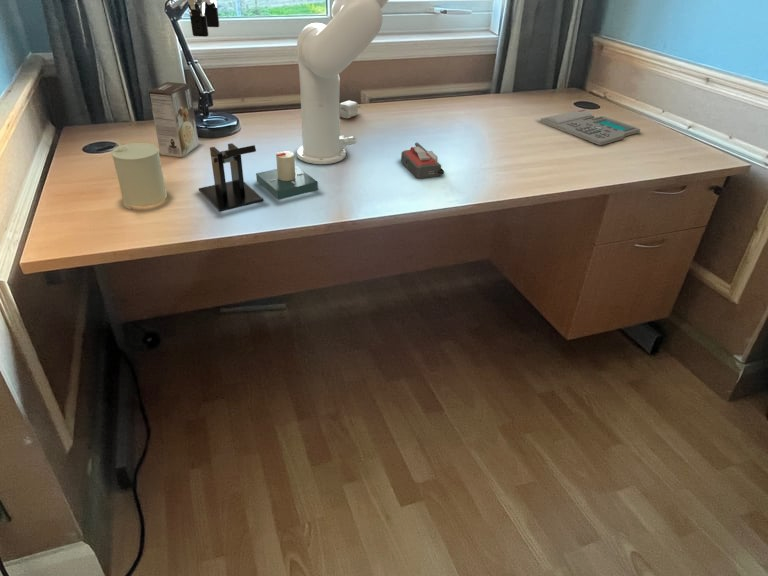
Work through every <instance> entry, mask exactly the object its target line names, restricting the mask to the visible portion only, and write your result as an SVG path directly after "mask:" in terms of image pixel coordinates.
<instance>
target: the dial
mask: <svg viewBox="0 0 768 576" xmlns="http://www.w3.org/2000/svg"><path fill="white" fill-rule="evenodd" d="M295 159H296V157H295V153H294V152H293V151H289V150H281V151H278V152H276V154H275V160H276V169H277V175H278V179H279V180H282V181H290V180H293V179H295V165H296V160H295Z"/></svg>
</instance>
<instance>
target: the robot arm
mask: <svg viewBox="0 0 768 576" xmlns="http://www.w3.org/2000/svg"><path fill="white" fill-rule="evenodd" d="M186 1H187V2H188V4H187V8H188V9H189V10H188V13H189V18H190V26H191V33H192V36H193V37H204V38H205V37H208V36H209V28H219V27H220V18H219V9H218V3H217V1H218V0H186ZM388 2H389V0H334V1H333V3H332V6H331V17H332V18H331V19H330V21H329V22H328V23H327V24H324V23H321V22H312V23H310V24H307V25H306V26H305V27H304V28H303V29H302V30H301V31H300V33H299V35H298V36H297V37H298V38H297V42H296V53H297V56H296V57H297V65H298V74H299V85H300V86H299V87H300V91H299V92H300V115H301V137H302V138H301V139H302V141H301V142H302V145H301V146H300V147H298V148H297V150H296V156H297V158H298V159H299V160H301V161H302V162H305V163H308V164H313V165H330V164H331V165H332V164H335V163H338V162H341V161H343V160H344V159H345V158H346V155H347V151H346V149H345V148H346V147H347V146H351V145H355V144H357V138H356V137H355V136H349V137H347V135H341V133H340V130H341V129H340V128H341V126H340V123H341V121H340V119H341V117H340V110H339V104H340V93H341V92H340V91H341V89H340V87H341V86H340V85H341V84H340V74H341V73H342V72H343V71H344V70H345V69H347V68H348V67H349V66H350V65H351V64H352V63H353V62H354V61H355V60H356V59H357V58H358V57H359V55H361V53H362V52H364V50H366V48H367V47H369V45H370V44H371V43H372V42H373V41H374V40H375V39H376V37H377V35H378V34H379V32H380V30H381V27H382V23H383V11H382V8H384V7H385V5H386V4H387V3H388Z"/></svg>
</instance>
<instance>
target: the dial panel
mask: <svg viewBox="0 0 768 576" xmlns="http://www.w3.org/2000/svg"><path fill="white" fill-rule="evenodd" d="M255 177H256V183H258V184H259V185H260V186H262V188H263V189H264V190H266V191H267V192H268V193H269V194H271V196H273V198H275V199H276V200H278V201H279V200H284V199H287V198H293V197H295V196H301V195H304V194H308V193H312V192H316V191H318V190H319V182H318V180H316V179H315V178H313V177H312V176H310V175H309V174H308V173H307V172H305V171H304V170H302V169H301V168H300V167H299V166H297V165H296V164H295V179H293V180H290V181H282V180H279V179H278V175H277V168H275V169H269V170H266V171H261V172H257V173H255Z"/></svg>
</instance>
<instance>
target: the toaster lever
mask: <svg viewBox="0 0 768 576" xmlns="http://www.w3.org/2000/svg"><path fill="white" fill-rule="evenodd" d="M220 152H221V153H222V157H223V165H225V164H228V163H229V164H230V162H232V161H234V157H235V156H238V155H241V156H242V155H246V154H251V153H255V152H257V148H256V145H255V144H253V145H247V146H242V147H237V149H232V150H228V149H226V150H221V151H220Z"/></svg>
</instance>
